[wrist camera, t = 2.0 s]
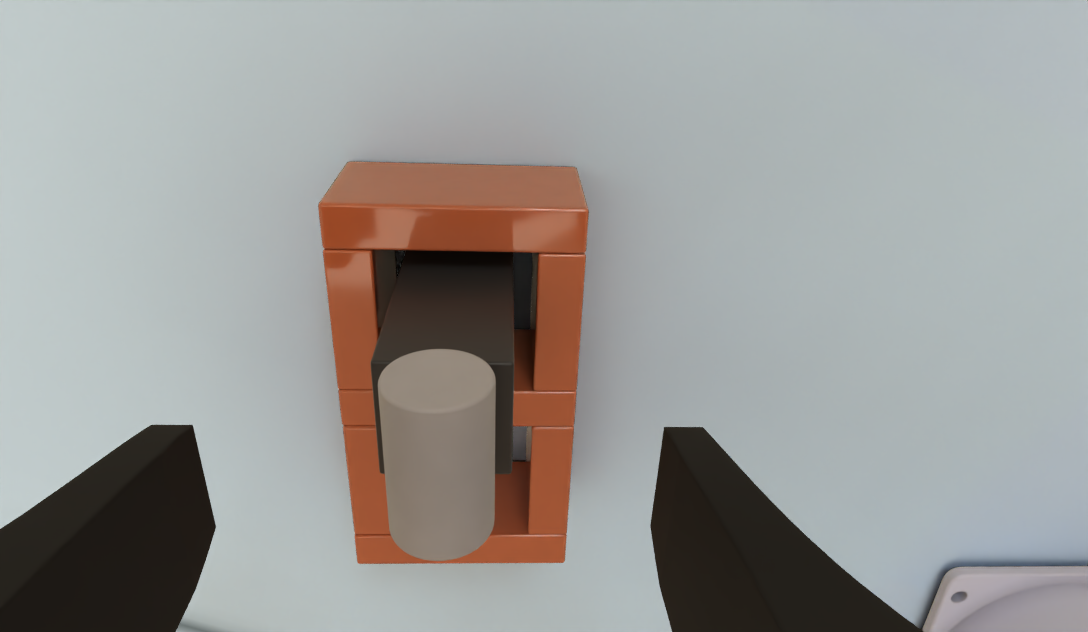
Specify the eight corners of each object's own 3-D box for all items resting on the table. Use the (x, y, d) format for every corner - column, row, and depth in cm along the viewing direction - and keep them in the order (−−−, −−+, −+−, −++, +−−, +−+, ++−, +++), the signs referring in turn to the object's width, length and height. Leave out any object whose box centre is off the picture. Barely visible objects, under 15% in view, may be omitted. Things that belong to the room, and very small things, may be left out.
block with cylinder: (510, 321, 19) (512, 562, 12) (418, 319, 19) (362, 563, 12) (513, 212, 18) (516, 411, 11) (413, 210, 18) (346, 410, 10)
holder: (558, 487, 22) (564, 563, 19) (375, 486, 22) (357, 564, 19) (577, 166, 17) (589, 209, 15) (346, 160, 17) (317, 203, 15)
